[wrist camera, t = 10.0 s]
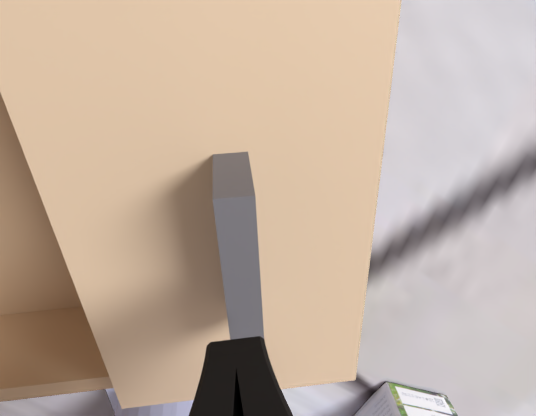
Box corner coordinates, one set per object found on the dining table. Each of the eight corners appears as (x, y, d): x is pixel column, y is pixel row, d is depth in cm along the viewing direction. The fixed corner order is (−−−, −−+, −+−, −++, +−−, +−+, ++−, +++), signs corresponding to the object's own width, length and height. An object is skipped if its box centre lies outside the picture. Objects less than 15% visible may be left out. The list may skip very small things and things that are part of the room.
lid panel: (351, 368, 19) (374, 436, 16) (124, 395, 18) (109, 472, 15) (400, -74, 10) (468, -83, 7) (-42, -56, 9) (-145, -58, 6)
